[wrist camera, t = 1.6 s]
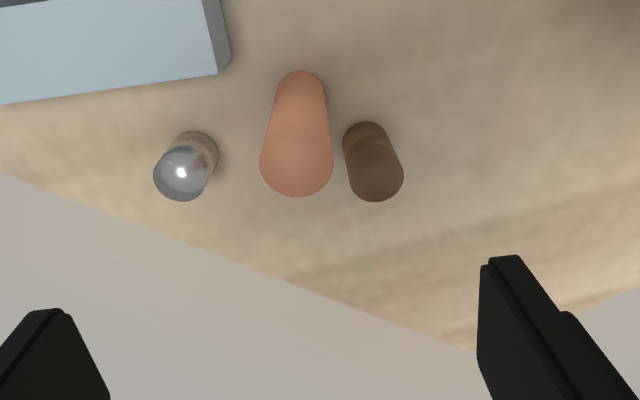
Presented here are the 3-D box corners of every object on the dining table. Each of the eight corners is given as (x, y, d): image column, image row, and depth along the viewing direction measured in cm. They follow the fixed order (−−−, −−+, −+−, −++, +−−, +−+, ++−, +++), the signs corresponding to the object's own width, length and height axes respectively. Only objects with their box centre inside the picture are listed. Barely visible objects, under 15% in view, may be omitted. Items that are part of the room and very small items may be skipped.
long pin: (321, 67, 29) (328, 123, 19) (327, 115, 31) (337, 192, 20) (272, 74, 29) (253, 133, 19) (281, 121, 31) (267, 201, 20)
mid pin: (386, 118, 31) (402, 149, 26) (388, 161, 32) (404, 198, 27) (340, 124, 31) (346, 156, 26) (345, 166, 32) (352, 205, 27)
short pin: (212, 127, 31) (197, 151, 27) (222, 169, 32) (210, 198, 28) (167, 134, 31) (146, 158, 27) (179, 175, 32) (161, 204, 28)
